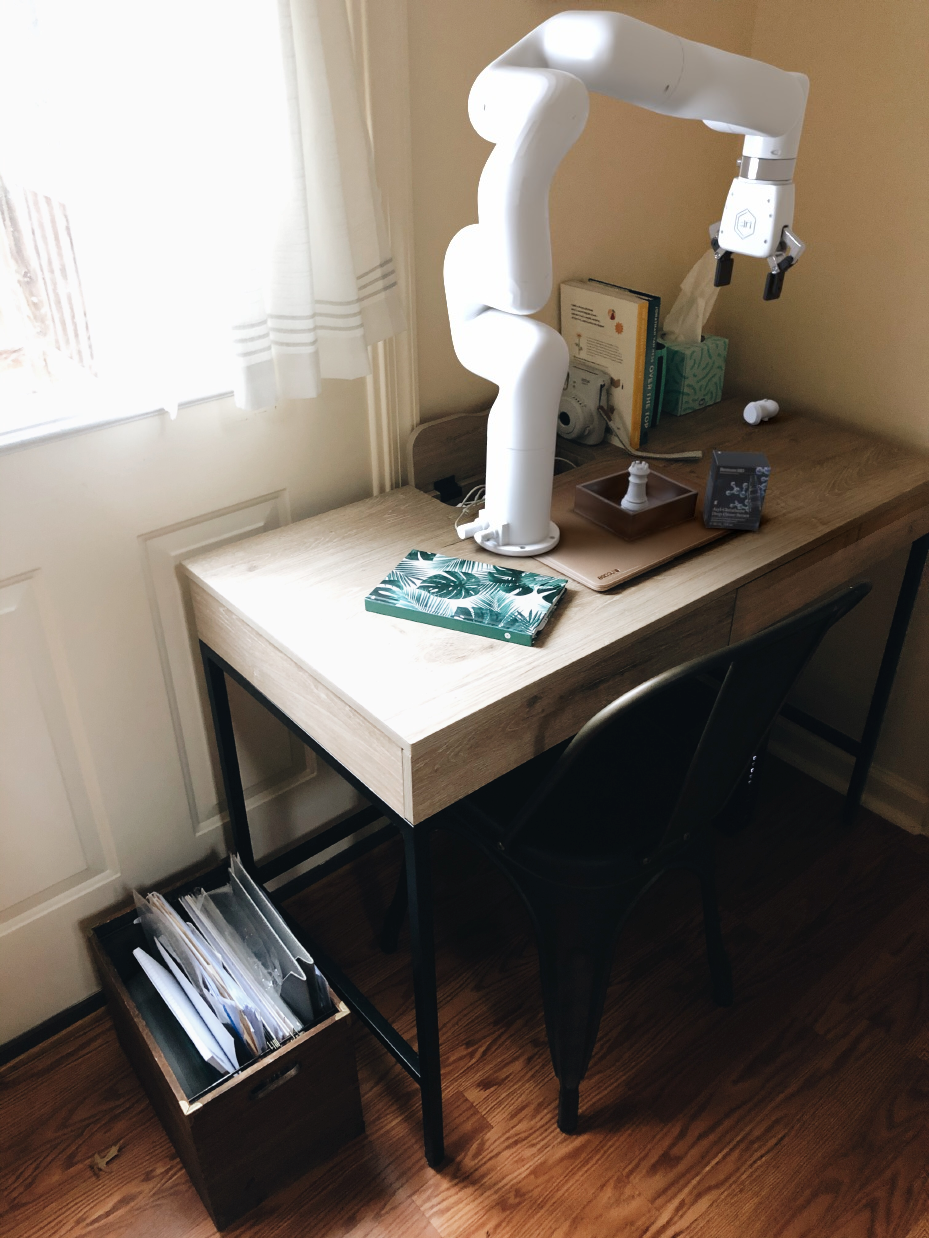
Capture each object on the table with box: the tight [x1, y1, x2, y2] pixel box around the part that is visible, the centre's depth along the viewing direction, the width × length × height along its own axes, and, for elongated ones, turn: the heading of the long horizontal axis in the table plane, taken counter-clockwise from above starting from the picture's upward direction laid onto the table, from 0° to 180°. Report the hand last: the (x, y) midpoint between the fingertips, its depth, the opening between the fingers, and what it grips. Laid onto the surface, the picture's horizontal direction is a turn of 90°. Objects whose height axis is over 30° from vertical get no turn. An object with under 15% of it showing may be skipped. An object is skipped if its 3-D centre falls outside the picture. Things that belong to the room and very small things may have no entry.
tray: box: [573, 468, 699, 542], centre depth 147 cm, size 14×12×4 cm
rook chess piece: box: [621, 460, 650, 512], centre depth 146 cm, size 4×4×8 cm
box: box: [702, 449, 772, 532], centre depth 144 cm, size 8×6×11 cm
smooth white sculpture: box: [743, 398, 780, 426], centre depth 183 cm, size 4×8×5 cm
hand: (745, 292), depth 147 cm, fingers open, 9 cm apart
